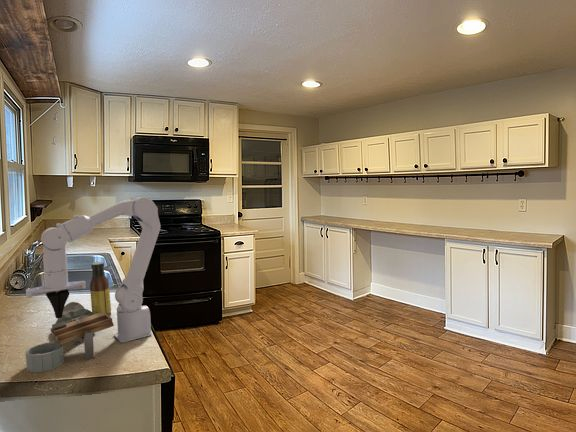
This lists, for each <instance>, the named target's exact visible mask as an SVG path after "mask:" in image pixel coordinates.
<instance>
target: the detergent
mask: <svg viewBox="0 0 576 432" xmlns="http://www.w3.org/2000/svg"><path fill="white" fill-rule="evenodd" d="M91 315H94V313H93V312H92V310H89V309H86V308H85V306H83V305H82V304H81V303H79V302H77V301H70V302H69V303H67V304H65V306H64V309H63V314H62V318H56V319H57V320H56V321H55V323H54V324H56V323H59V322H62V321H64V322H65V324H66V323H69V322H72V319H74V318H80V319H82V318H85V317H88V316H91Z"/></svg>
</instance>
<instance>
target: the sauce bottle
mask: <svg viewBox="0 0 576 432" xmlns="http://www.w3.org/2000/svg"><path fill="white" fill-rule="evenodd" d="M90 265H91V270H92V271H91V272H92V277H91V280H90V283H89V291H90V292H89V293H90V304H91V312H93V313H94V314H97V313H101V312H102V313H103V314H104V315H105V314H108V315H109V316H110V317H111V316H112V312H111V311H112V303H111V292H110V286H109V285H110V284H109V280H108V277H106V275H105V269H104V268H105V264H104V262H103V261H97V262H96V261H95V262H93V263H91V264H90Z"/></svg>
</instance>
